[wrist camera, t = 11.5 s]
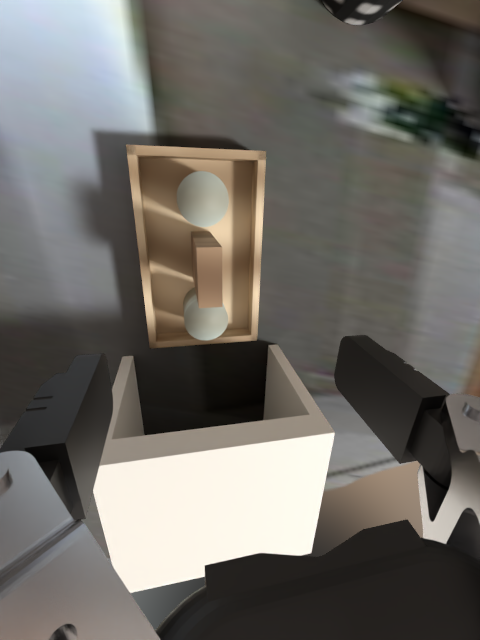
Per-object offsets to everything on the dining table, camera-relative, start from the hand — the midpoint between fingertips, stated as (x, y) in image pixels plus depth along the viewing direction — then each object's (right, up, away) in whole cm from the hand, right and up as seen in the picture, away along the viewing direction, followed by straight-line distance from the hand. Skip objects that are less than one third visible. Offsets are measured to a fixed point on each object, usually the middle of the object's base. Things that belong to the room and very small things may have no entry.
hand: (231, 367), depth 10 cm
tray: (-3, +8, +17) cm, 19 cm away
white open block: (-4, -8, +23) cm, 25 cm away
